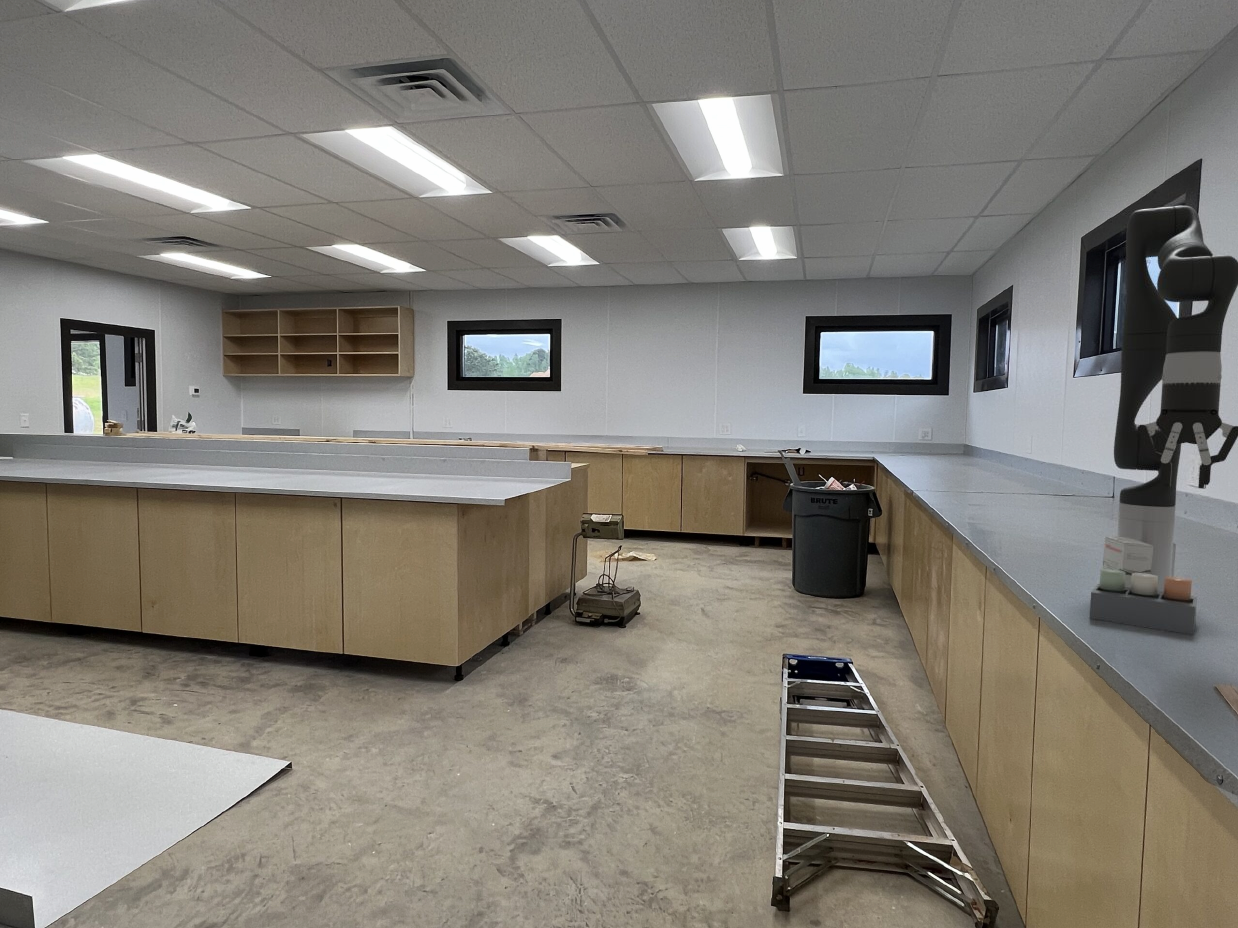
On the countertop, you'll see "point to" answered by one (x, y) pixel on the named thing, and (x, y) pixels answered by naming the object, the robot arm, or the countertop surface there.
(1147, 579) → the cream button
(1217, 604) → the countertop surface
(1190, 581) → the terracotta button
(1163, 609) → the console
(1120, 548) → the ink box
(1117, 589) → the sage button
